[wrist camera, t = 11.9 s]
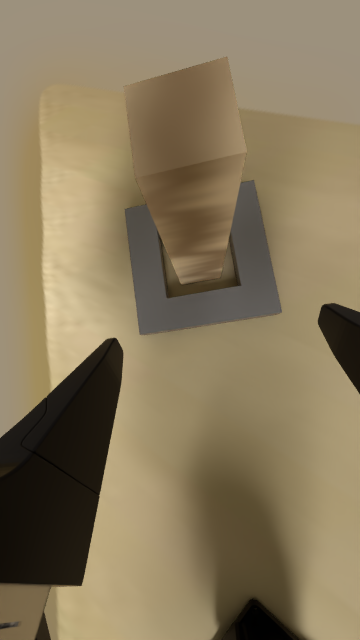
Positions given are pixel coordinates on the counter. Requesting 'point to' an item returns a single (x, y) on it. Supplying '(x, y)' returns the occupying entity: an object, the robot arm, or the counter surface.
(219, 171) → the maple peg
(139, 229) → the socket board
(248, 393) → the counter surface
